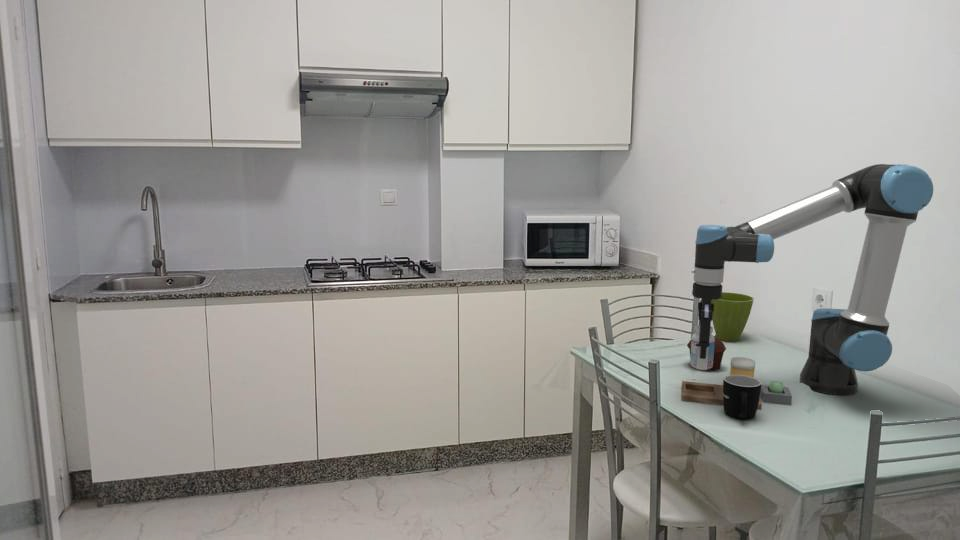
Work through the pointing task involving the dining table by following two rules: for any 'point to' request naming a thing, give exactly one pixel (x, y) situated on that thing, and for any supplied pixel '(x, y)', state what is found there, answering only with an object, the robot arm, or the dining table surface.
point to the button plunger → (776, 387)
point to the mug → (741, 396)
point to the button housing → (776, 396)
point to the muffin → (718, 354)
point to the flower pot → (731, 315)
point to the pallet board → (704, 393)
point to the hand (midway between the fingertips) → (701, 365)
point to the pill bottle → (695, 348)
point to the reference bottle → (742, 366)
